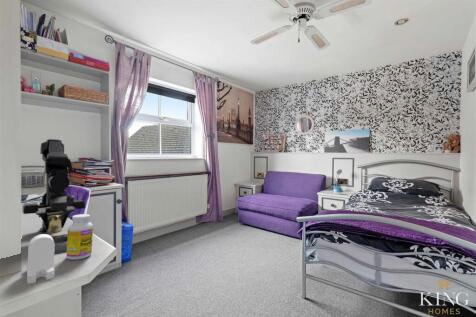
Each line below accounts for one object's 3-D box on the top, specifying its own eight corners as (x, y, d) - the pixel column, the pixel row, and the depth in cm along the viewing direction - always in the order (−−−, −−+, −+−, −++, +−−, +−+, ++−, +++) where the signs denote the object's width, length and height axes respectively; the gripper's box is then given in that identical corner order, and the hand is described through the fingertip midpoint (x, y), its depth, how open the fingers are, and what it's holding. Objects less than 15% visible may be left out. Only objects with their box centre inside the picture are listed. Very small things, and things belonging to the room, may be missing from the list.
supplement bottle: (79, 261, 71) (81, 218, 72) (60, 259, 73) (62, 217, 73) (96, 253, 78) (98, 214, 78) (79, 251, 79) (81, 212, 79)
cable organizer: (51, 265, 69) (53, 230, 69) (54, 278, 61) (56, 238, 62) (27, 270, 65) (28, 233, 65) (27, 284, 58) (29, 242, 58)
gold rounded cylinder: (46, 231, 91) (46, 215, 91) (60, 229, 94) (61, 214, 95) (48, 234, 88) (48, 217, 88) (62, 231, 91) (63, 216, 92)
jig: (40, 243, 85) (40, 238, 85) (70, 238, 92) (70, 233, 92) (47, 254, 76) (47, 248, 76) (80, 248, 82) (80, 242, 82)
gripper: (26, 191, 79) (24, 238, 79) (90, 188, 93) (88, 229, 93) (23, 188, 87) (21, 231, 87) (82, 186, 101) (80, 223, 100)
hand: (54, 228), depth 91 cm, fingers closed on gold rounded cylinder, 4 cm apart
